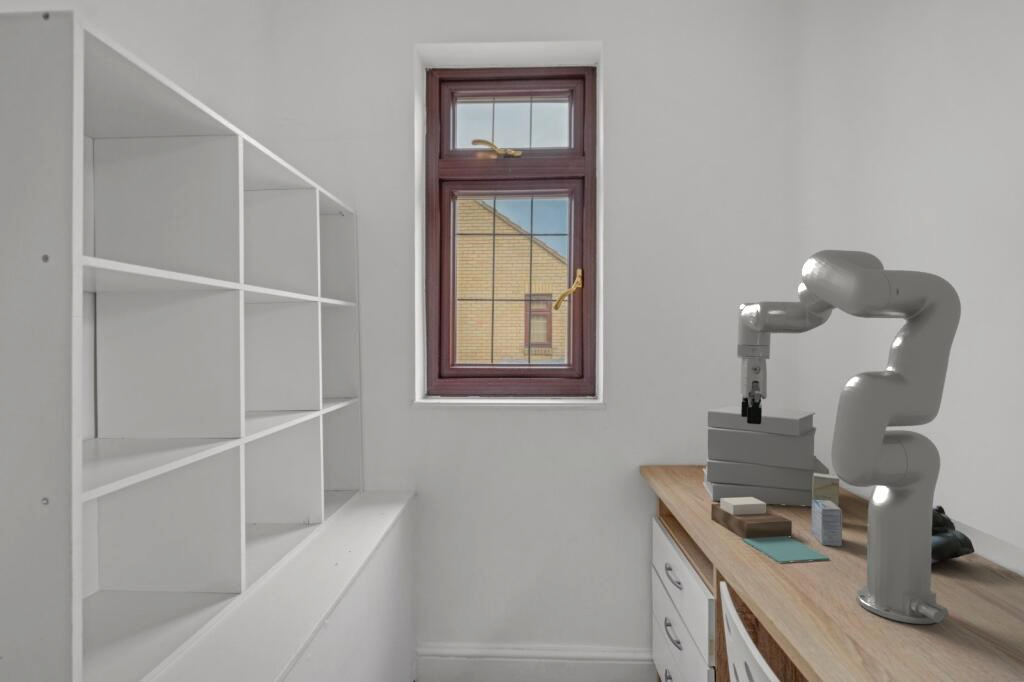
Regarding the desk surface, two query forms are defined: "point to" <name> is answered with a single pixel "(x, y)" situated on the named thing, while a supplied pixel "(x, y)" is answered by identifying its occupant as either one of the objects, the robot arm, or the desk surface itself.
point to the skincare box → (825, 487)
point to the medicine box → (827, 522)
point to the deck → (753, 523)
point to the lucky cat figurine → (947, 538)
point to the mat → (784, 549)
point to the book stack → (761, 456)
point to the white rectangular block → (743, 505)
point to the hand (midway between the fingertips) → (750, 420)
